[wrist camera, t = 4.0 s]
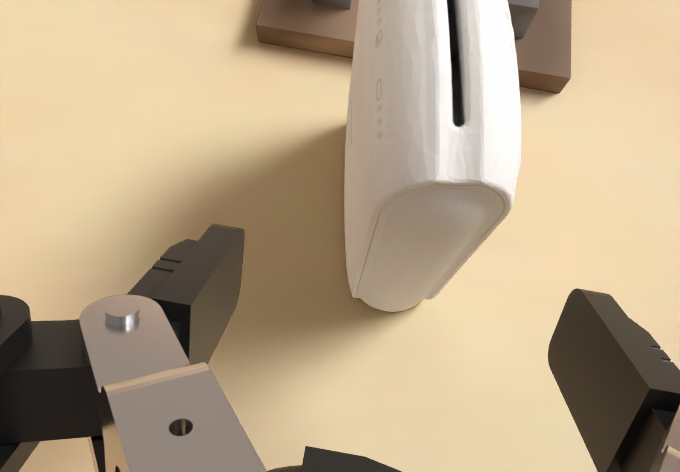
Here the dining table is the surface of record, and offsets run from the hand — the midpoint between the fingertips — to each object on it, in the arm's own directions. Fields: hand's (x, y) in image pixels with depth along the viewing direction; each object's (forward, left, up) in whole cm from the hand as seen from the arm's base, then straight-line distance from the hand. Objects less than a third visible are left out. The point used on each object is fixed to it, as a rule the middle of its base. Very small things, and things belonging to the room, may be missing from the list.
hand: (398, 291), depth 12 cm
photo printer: (0, -7, -10) cm, 12 cm away
